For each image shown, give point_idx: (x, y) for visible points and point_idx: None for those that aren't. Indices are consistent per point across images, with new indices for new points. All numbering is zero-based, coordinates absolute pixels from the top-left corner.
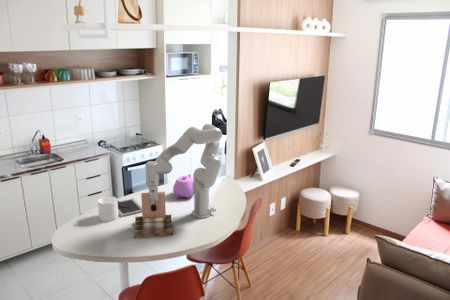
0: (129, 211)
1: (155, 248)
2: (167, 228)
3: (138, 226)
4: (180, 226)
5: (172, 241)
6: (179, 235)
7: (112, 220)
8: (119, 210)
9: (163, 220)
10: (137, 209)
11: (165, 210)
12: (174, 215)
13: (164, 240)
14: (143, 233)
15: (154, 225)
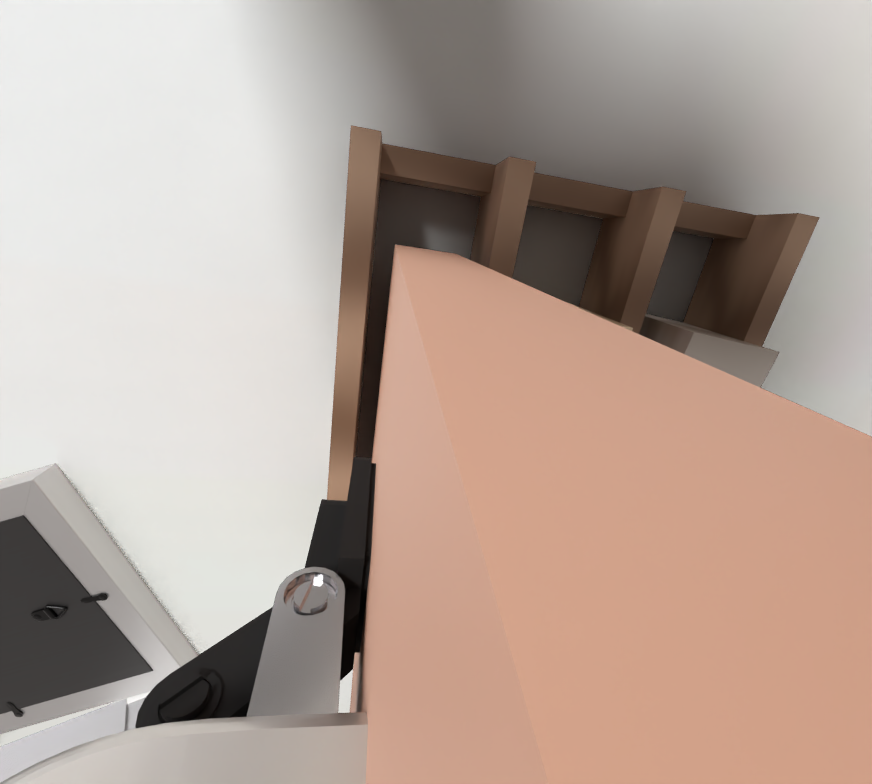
0: (92, 624)
1: (855, 429)
2: (766, 291)
3: None
4: (583, 47)
5: (853, 255)
6: (790, 136)
7: None
8: (65, 698)
9: (627, 328)
10: (28, 554)
11: (493, 271)
12: (193, 45)
13: (787, 334)
14: None
15: None
